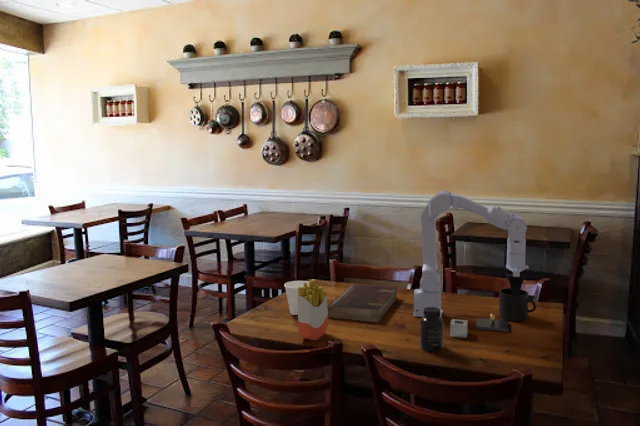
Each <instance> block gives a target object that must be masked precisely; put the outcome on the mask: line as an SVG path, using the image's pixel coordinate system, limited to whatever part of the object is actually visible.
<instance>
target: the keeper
mask: <svg viewBox="0 0 640 426" xmlns="http://www.w3.org/2000/svg"><path fill="white" fill-rule="evenodd" d="M489 316H490V318H481V317H479V318H478V317H477V318H476V324H475V330H481V331H491V332H505V333H509V332H510V331H509V329H510V328H509V327H510V326H509V320H505V319H503V320H501V319H495V318H496V317H495V316H496V314H494V313H490V315H489Z"/></svg>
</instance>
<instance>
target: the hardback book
mask: <svg viewBox="0 0 640 426" xmlns="http://www.w3.org/2000/svg"><path fill="white" fill-rule="evenodd" d="M397 290H398V287H397V286H384V285H368V284H367V285H366V284H354V283H353V284H351V285H350V286H349V287H347V288H346V289H345V290H344V291H342V292H341V293H340V294H339V295H338V296H337V297H336V298H335V299H333V300H332V301H331V302H329V304H327V310H328V318H329V317H336V318H335V319H339V318H344V319H343V320H348V319H352V320H351V321H358V320H360V321H361V322H367V321H369V323H377V322H378V323H379V322H380V321H381V319H382V318H383V316H384V315H386V313H387V311H388V310H389V308H391V306H392V305H393V304H394V302H395V301H396V300H397V298H398V297H397V296H398V295H397V294H398V291H397ZM379 320H380V321H379ZM360 321H359V322H360Z"/></svg>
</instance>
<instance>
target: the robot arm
mask: <svg viewBox="0 0 640 426" xmlns="http://www.w3.org/2000/svg"><path fill="white" fill-rule="evenodd" d="M451 207H452V208H451ZM450 208H451V209H452V210H456V209H462V210H466V211H467V212H468V211H469V212H471V213H474V214H476V215H479V216H481V217H483V218H484V219H485V222H486V223H488V224H491V225H493V226H495V227H497V228H500V229H502V230H507V231H508V235H507V241H506V243H507V244H506V246H507V248H506V264H505V268H506V271H507V273H506V277H507V279H508V282H509V285H510V288H511V293H512V296H519V294H520V289H522V285H523V282H524V281H525V279H526V275H523V273H524V272H525V270H526V269H527V270H529V269H530V267H529V265H528V264H527V265H526V247H527V245H526V243H527V239H526V237H527V236H526V233H527V230H528V226H527V223H526V221H525V219H524V218H523V217H522V216H520V215H516V213H515V212H511V213H510V212H508V211H505V210H503V209H502V207H501V206H498V205H497V207H496V206H495V205H494V206H491V207H486V206H484V205H482V204H481V203H478V202H476V201H473V200H472V199H469V198H467V197H465V196H463V195H460V194H457V193H455V192H450V191H449V190H440V191H438V193H436V194H434V196H433V197H432V198H430V199H429V201H428V202H427V204H426V206H425V207H424V209H423V210H422V212H421V214H420V221H421V243H422V246H421V248H422V269H421V270H422V276H421V278H420V280H419V285H420V288H416V289H414V293H413V316H412V317H419V318H420V317H421V318H422V317H424V315H423V313H424V308H426V307H436V308H439V309H440V317H441V318H442V315H443V312H444V310H443V309H442V288H441V287H440V285H439V284H440V282H441V280H442V275H441V273H440V271H439V265H438V260H437V232H436V219H437V218H438V216H440V215H441V214H443V213H444V212H448V210H449V209H450Z"/></svg>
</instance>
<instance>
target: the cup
mask: <svg viewBox="0 0 640 426" xmlns="http://www.w3.org/2000/svg"><path fill="white" fill-rule="evenodd" d="M304 283H307V287H308V285H309V281H307V280H292V281H287V282H285V283H284V288H285V293H286V298H287V302H288V309H289V313H290V315H291V316H293V315H298V298H297V296H298V295H299V294H298V287H304Z"/></svg>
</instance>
